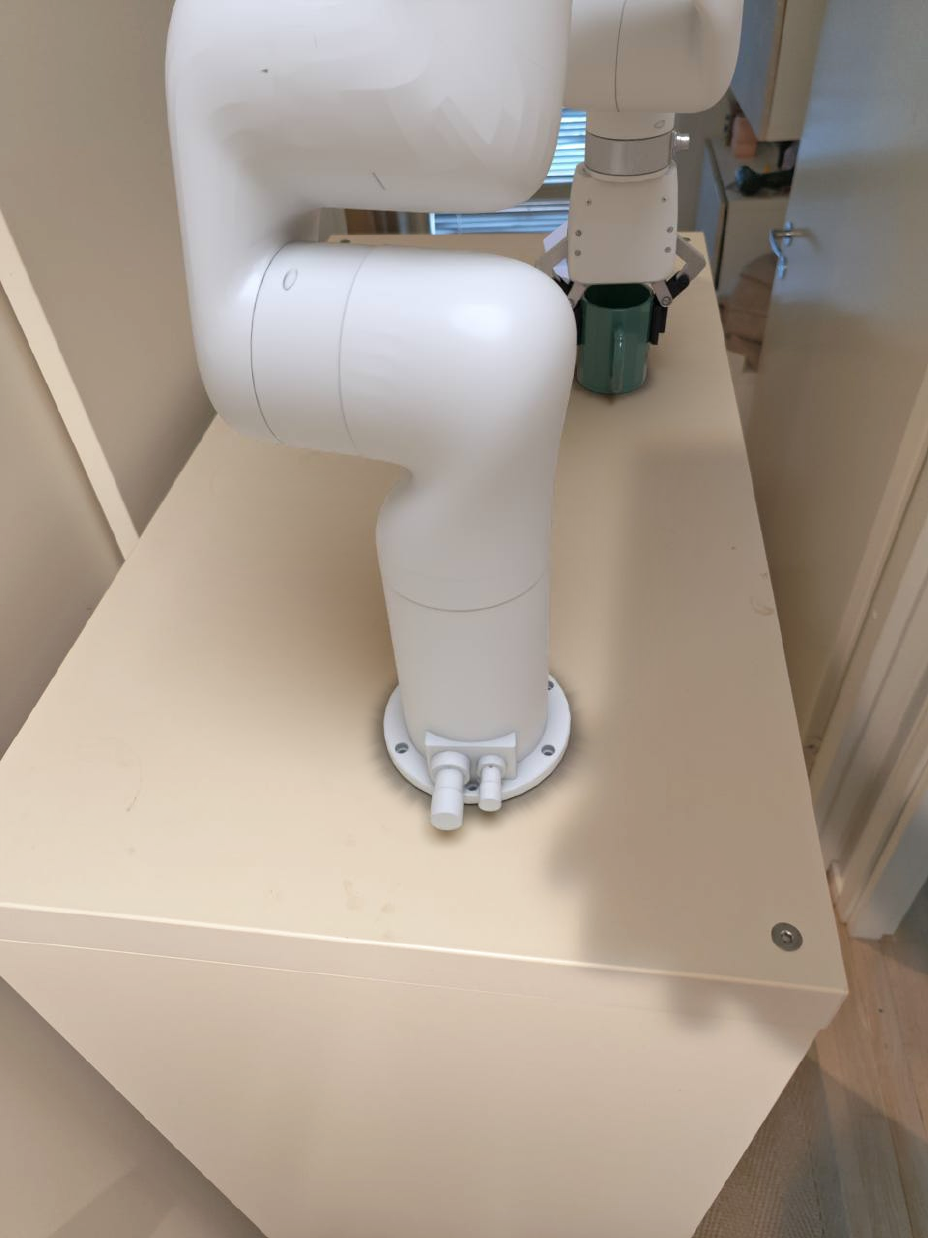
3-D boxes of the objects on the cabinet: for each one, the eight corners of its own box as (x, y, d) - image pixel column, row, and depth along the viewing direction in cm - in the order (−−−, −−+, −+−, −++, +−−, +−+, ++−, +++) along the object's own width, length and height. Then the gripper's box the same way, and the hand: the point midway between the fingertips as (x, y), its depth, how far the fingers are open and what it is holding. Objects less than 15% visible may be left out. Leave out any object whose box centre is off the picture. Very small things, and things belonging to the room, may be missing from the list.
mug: (575, 360, 93) (578, 279, 86) (642, 359, 92) (650, 277, 86) (579, 410, 86) (583, 325, 79) (651, 408, 85) (661, 323, 79)
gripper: (721, 133, 76) (695, 321, 89) (528, 141, 78) (529, 325, 90) (735, 160, 71) (705, 355, 84) (528, 168, 73) (528, 359, 85)
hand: (613, 338), depth 87 cm, fingers closed on mug, 7 cm apart
